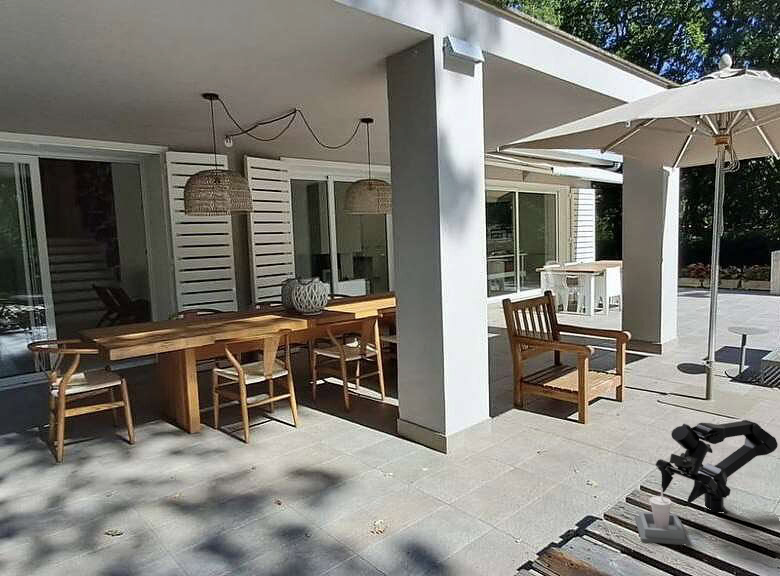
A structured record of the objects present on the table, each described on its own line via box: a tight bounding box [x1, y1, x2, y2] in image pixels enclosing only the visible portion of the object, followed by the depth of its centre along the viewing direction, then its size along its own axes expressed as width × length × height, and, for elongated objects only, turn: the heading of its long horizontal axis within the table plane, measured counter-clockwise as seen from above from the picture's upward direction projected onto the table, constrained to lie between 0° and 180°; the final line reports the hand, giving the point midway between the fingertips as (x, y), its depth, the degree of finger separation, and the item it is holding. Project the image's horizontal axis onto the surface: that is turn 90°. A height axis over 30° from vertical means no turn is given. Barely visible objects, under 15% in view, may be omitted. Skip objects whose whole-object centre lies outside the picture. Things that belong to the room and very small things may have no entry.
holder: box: [634, 510, 691, 546], centre depth 172 cm, size 14×14×4 cm
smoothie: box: [649, 487, 672, 529], centre depth 172 cm, size 6×6×14 cm
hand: (675, 497), depth 175 cm, fingers open, 9 cm apart
